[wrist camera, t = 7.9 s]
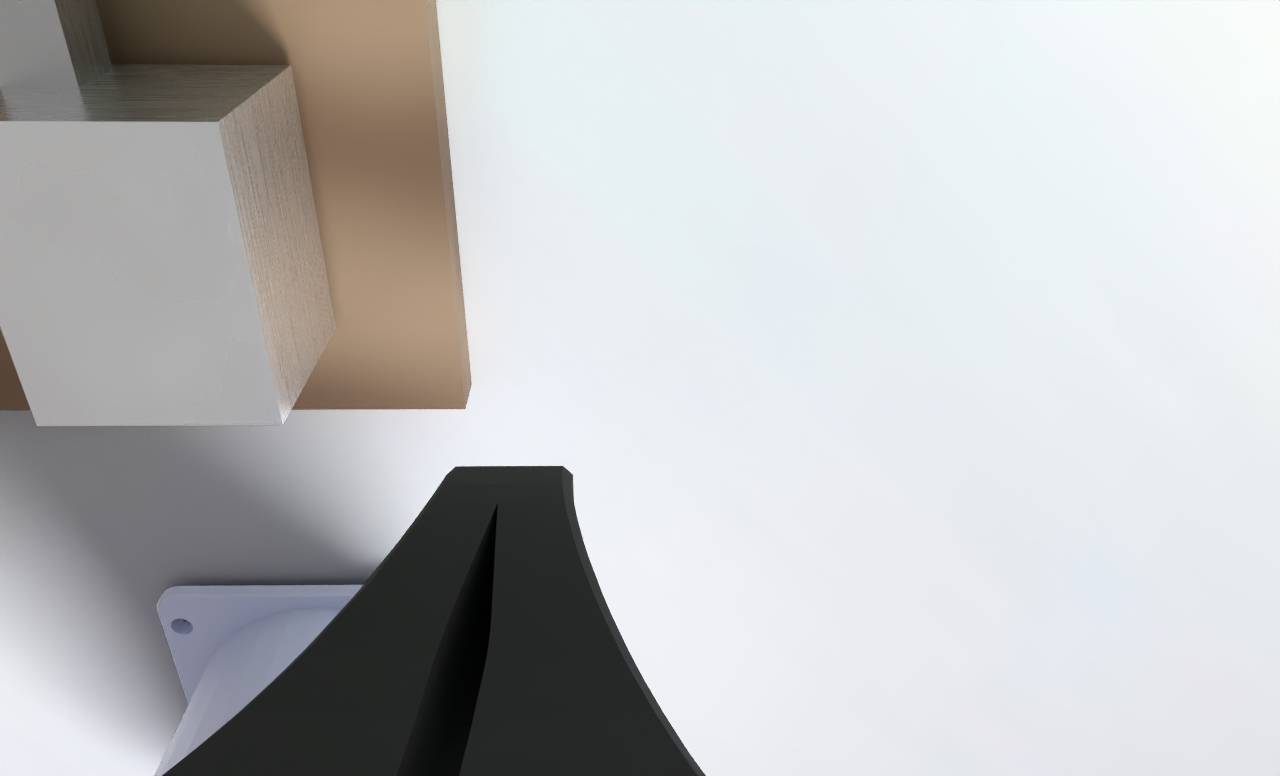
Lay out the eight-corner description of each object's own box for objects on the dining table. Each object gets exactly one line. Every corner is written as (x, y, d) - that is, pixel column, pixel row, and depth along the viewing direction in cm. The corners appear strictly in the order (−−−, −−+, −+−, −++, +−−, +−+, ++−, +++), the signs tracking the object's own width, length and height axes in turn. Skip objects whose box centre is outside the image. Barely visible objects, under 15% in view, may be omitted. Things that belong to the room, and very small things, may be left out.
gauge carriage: (335, 328, 19) (282, 425, 16) (129, 327, 19) (37, 426, 16) (244, -213, 14) (144, -220, 11) (-30, -216, 14) (-203, -223, 11)
